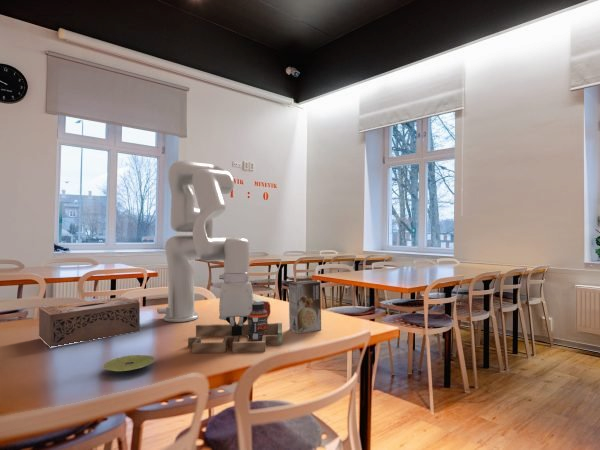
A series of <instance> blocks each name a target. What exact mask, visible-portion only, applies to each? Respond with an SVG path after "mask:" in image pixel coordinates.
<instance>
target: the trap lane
mask: <svg viewBox="0 0 600 450" xmlns="http://www.w3.org/2000/svg"><path fill="white" fill-rule="evenodd" d="M236 324H237V325H238V323H236ZM267 325H268V335H263V337H262V341H253V342H251V341H240V339H239V336H232V326H231V325H230V324H229V323H223V324H222V323H219V324H218V323H217V324H196V325H195V336H189V337H188V338H187V342H188V343H187V345H188V348H192V351H191V352H192V354H205V353H206V354H208V353H209V354H210V353H211V354H212V353H214V354H215V353H226V352H227V349H228V347H230V346H231V347H232V353H247V352H248V353H252V352H253V353H255V352H266V349H267V346H270V345H271V346H274V345H276V346H277V345H278V346H279V345H283V322H268V324H267ZM245 336H246V337H248V323H244V324H243V325H242V336H241V337H245ZM203 337H204V338H205V337H210V338H211V337H224V338H223V339H222V342H219V341H218V342H202V338H203Z"/></svg>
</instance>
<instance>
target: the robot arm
mask: <svg viewBox="0 0 600 450" xmlns="http://www.w3.org/2000/svg"><path fill="white" fill-rule="evenodd" d="M167 177H168V178H167V179H168V184H169V189H170V194H171V195H170V196H171V201H170V202H171V203H170V228H171V229H172V230H173V231H175V232H177V233H192V234H191V235H183V234H181V235H174V236H171V237H169V238H168V239H167V240H166V241H165V245H164V252H165V256H166V262H167V264H166V265H167V289H168V290H167V294H168V295H167V296H168V297H167V299H168V300H167V304H168V306H167V307H158V308H156V309H157V310H156V311H157V314H159V315H162V314H163V315H164V316H163V320H164V321H165V322H171V323H183V322H191V321H194V320H196V319H198V318H199V313H198V312H195V272H194V269H193V267H192V265H191V264H190V262H189V261H193V260H195V261H196V260H202V261H203V262H218V261H219V262H220V261H223V274H219V276H218V279H219V280H222V281H223V282H221V283H220V285H221V286H220V291H219V305H218V308H219V316H218V319H219V320H220V321H221V320H222V321H226V322H227V324H230V325H231V326H232V336H239V340H240V339H241V337H243V336H242V325H243V324H246V323H245V322H246V321H247V322H248V316H249V315H250V312H252V310H253V294H254V293H253V291H254V290H253V286H252V282H251V281H250V252H249V250H250V247H249V245H250V244H249V243H250V242H249V240H248V239H247V238H244V237H243V238H242V237H234V236H213V229H214V224H213V223H214V220H213V219H215V218H217V217H219V216H221V215H222V214H223V213H224V212H225V210H226V204H225V200H224V198H223V197H224V196H223V195H229V194H231V192H233V189H234V186H235V185H234V183H235V181H234V179H233V176H232V174H231V172H229V171H228V170H226V169H225V168H222V167H220V166H218V165H216V164H213V163H205V162H200V161H199V162H198V161H189V160H178V161H174V162H172V163H171V165H170V167H169V168H168V175H167ZM191 186H193V189H192V188H191ZM193 190H194V191H193ZM195 201H197V205H198V207H195V203H196V202H195ZM237 317H238V322H236V318H237ZM237 324H238V325H237Z"/></svg>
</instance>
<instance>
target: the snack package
mask: <svg viewBox="0 0 600 450" xmlns="http://www.w3.org/2000/svg"><path fill="white" fill-rule="evenodd" d="M254 302H263V303H264V308H265V310H266V311H267V318H268V317H270V315H271V313H272V312H271V304H270V302H269V301H268V300H266V299H264V298H262V297H260V296H259V295H257V294H255V293H253V303H254Z"/></svg>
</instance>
